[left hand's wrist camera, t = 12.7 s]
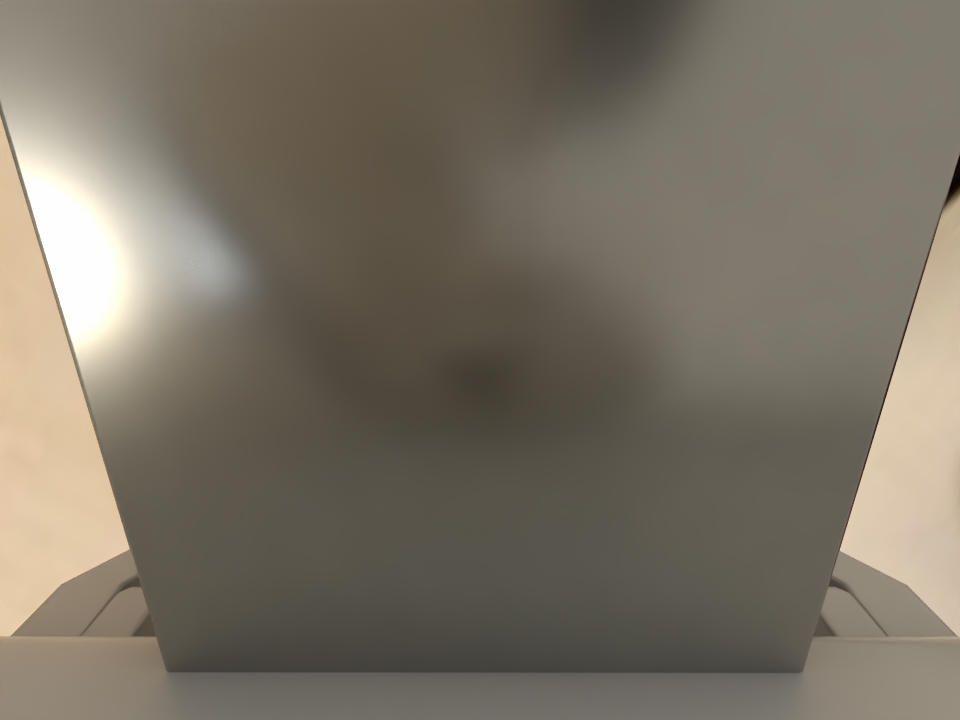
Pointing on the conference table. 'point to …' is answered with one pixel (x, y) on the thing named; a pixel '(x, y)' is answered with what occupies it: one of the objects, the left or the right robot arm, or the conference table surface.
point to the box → (484, 311)
